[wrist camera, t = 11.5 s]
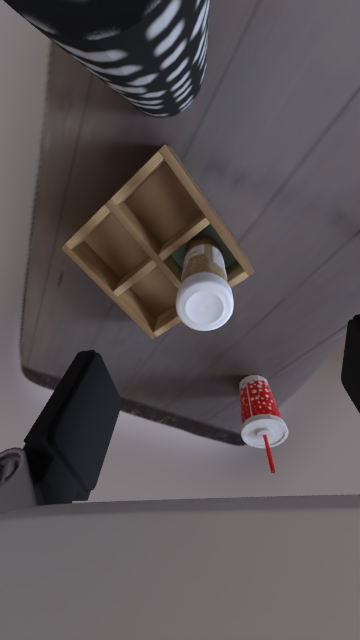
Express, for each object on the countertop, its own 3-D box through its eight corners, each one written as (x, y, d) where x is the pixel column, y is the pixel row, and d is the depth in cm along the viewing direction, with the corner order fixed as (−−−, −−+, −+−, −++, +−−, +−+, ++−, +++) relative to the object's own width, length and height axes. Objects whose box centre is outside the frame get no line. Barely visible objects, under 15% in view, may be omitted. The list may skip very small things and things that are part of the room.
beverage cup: (246, 403, 46) (263, 490, 34) (226, 381, 44) (236, 466, 32) (279, 389, 44) (309, 476, 32) (260, 365, 41) (285, 449, 29)
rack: (170, 145, 27) (164, 143, 24) (248, 258, 33) (254, 272, 29) (77, 237, 33) (60, 248, 29) (157, 321, 38) (152, 339, 35)
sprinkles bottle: (184, 235, 31) (173, 280, 20) (223, 235, 31) (236, 280, 19) (184, 273, 34) (176, 332, 22) (221, 273, 33) (232, 333, 22)
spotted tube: (154, 138, 27) (74, 102, 10) (95, 49, 24) (-165, -222, 7) (224, 71, 24) (280, -139, 7) (168, -41, 21) (27, -887, 4)
